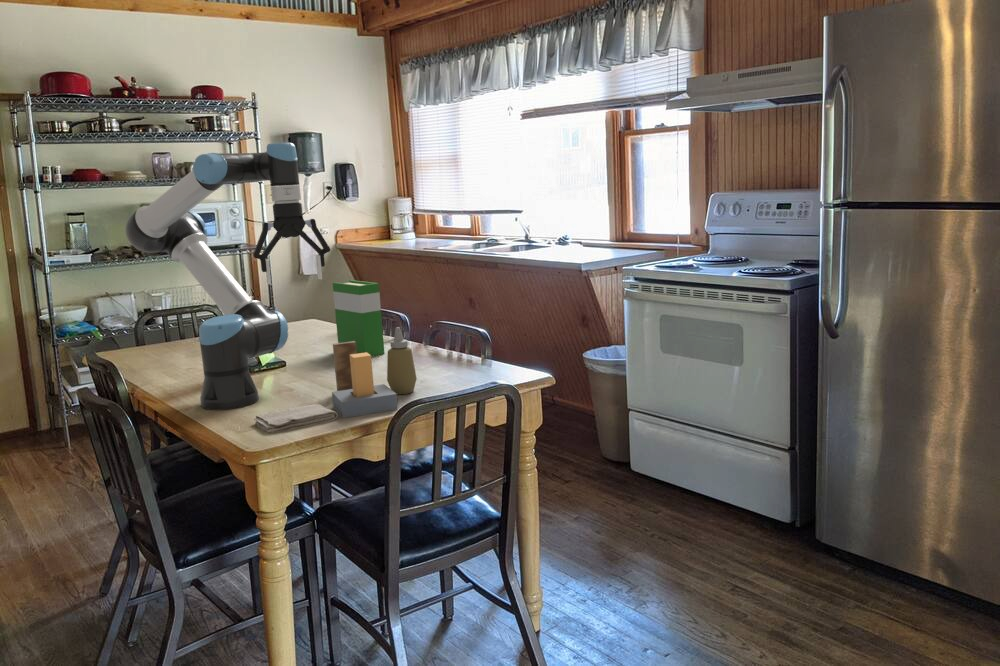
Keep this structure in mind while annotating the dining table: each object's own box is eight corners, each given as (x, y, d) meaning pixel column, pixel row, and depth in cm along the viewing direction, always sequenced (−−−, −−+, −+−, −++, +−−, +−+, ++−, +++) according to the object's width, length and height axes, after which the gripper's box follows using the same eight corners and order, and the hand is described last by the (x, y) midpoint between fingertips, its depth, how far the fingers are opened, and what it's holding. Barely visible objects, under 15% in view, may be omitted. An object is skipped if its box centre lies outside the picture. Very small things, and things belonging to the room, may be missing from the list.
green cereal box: (338, 351, 291) (332, 282, 287) (357, 347, 296) (351, 280, 292) (365, 357, 278) (359, 286, 274) (384, 353, 283) (378, 283, 278)
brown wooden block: (338, 394, 232) (334, 344, 229) (337, 393, 234) (332, 343, 231) (360, 391, 234) (355, 342, 231) (358, 389, 236) (354, 340, 233)
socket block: (343, 417, 208) (341, 402, 208) (333, 406, 219) (331, 391, 219) (397, 409, 214) (396, 393, 213) (385, 398, 225) (384, 384, 224)
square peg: (358, 411, 214) (353, 357, 211) (354, 407, 218) (349, 354, 215) (375, 408, 215) (371, 355, 213) (371, 404, 219) (366, 352, 217)
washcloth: (252, 425, 208) (250, 413, 207) (320, 411, 218) (319, 399, 217) (268, 436, 198) (267, 423, 198) (339, 420, 208) (338, 408, 208)
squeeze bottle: (396, 387, 236) (391, 324, 232) (422, 389, 233) (417, 325, 229) (382, 395, 228) (377, 330, 225) (409, 396, 225) (404, 330, 222)
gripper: (239, 205, 216) (249, 287, 219) (336, 199, 225) (343, 278, 229) (236, 205, 222) (245, 284, 226) (330, 199, 232) (337, 275, 236)
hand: (294, 281), depth 228 cm, fingers open, 13 cm apart
